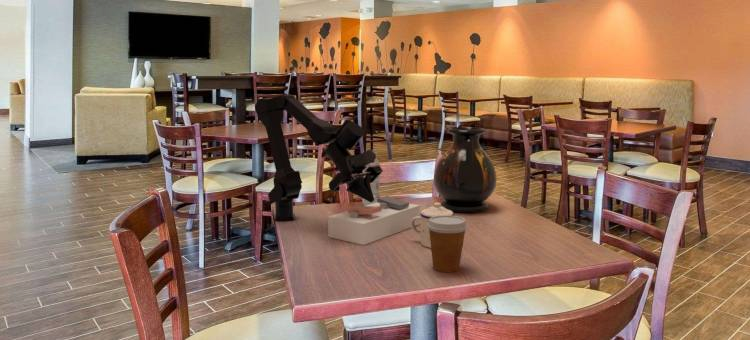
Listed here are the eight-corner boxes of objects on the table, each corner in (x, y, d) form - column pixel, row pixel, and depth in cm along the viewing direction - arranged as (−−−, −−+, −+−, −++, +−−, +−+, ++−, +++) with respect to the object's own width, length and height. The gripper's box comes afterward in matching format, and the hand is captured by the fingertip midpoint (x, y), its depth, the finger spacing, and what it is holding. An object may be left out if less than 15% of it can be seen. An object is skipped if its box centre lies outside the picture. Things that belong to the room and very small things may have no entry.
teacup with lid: (457, 242, 159) (458, 201, 157) (447, 251, 151) (448, 208, 149) (416, 236, 164) (417, 197, 162) (405, 245, 156) (405, 203, 154)
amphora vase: (501, 215, 188) (504, 131, 184) (436, 215, 189) (437, 131, 184) (489, 201, 209) (491, 125, 205) (430, 201, 210) (432, 125, 205)
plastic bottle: (379, 209, 196) (379, 152, 193) (360, 208, 197) (360, 151, 194) (382, 205, 202) (383, 150, 199) (364, 204, 204) (364, 149, 200)
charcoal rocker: (376, 202, 175) (377, 198, 174) (386, 199, 178) (387, 195, 178) (399, 209, 170) (399, 205, 169) (408, 206, 174) (409, 202, 173)
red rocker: (347, 213, 164) (347, 209, 164) (358, 210, 168) (358, 206, 167) (371, 214, 158) (370, 209, 158) (381, 210, 162) (381, 206, 162)
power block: (328, 236, 163) (328, 211, 162) (386, 217, 185) (386, 194, 184) (363, 245, 156) (363, 218, 154) (419, 224, 177) (419, 200, 176)
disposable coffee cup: (423, 261, 142) (424, 215, 140) (460, 261, 143) (462, 214, 141) (430, 275, 132) (431, 225, 130) (470, 274, 133) (471, 224, 131)
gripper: (336, 144, 154) (368, 189, 149) (377, 138, 168) (408, 179, 164) (315, 170, 160) (345, 214, 155) (357, 162, 174) (386, 202, 170)
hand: (372, 201), depth 161 cm, fingers closed
